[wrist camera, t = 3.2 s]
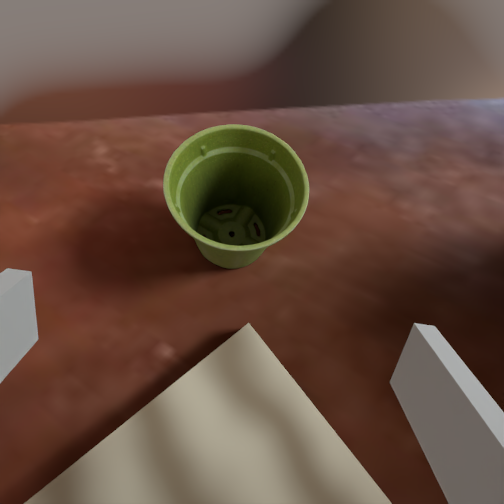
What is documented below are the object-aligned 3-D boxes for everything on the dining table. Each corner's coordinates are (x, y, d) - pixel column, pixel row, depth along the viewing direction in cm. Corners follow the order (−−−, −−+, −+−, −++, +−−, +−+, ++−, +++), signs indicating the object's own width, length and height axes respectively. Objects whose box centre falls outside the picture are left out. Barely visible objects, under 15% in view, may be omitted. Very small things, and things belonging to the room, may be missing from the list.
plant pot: (164, 201, 31) (147, 138, 23) (264, 178, 33) (281, 112, 25) (192, 301, 29) (185, 268, 20) (299, 269, 31) (331, 228, 22)
